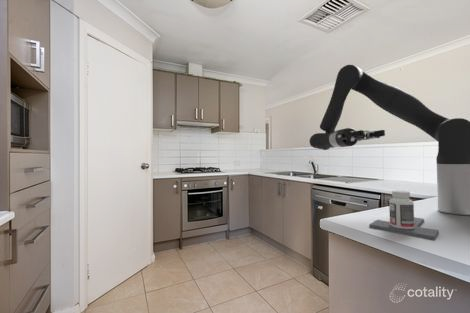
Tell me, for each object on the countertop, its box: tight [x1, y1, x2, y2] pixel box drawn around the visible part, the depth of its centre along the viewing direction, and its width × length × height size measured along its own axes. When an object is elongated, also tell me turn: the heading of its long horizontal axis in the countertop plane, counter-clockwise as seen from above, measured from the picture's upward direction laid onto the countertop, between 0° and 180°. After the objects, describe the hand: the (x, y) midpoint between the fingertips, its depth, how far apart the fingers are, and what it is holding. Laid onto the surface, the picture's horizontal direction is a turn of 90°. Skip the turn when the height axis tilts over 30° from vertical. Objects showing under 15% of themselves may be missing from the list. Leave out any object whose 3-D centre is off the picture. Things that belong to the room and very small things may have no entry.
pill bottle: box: [388, 190, 415, 229], centre depth 61 cm, size 5×5×10 cm
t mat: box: [368, 216, 440, 241], centre depth 64 cm, size 18×14×1 cm
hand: (373, 132), depth 77 cm, fingers open, 8 cm apart
